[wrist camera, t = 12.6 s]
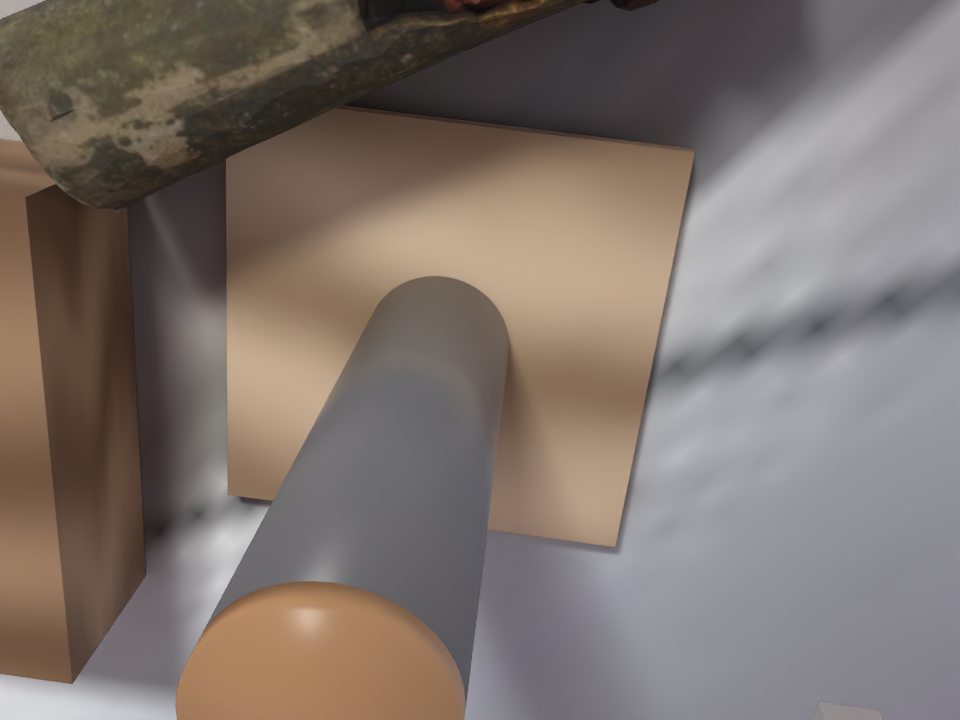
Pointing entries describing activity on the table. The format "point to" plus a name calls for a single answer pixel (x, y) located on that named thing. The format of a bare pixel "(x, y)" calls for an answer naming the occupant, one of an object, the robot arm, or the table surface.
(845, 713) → the robot arm
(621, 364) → the light brown wooden board
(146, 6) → the brown lumpy club
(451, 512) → the plug
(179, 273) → the table surface
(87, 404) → the socket block
